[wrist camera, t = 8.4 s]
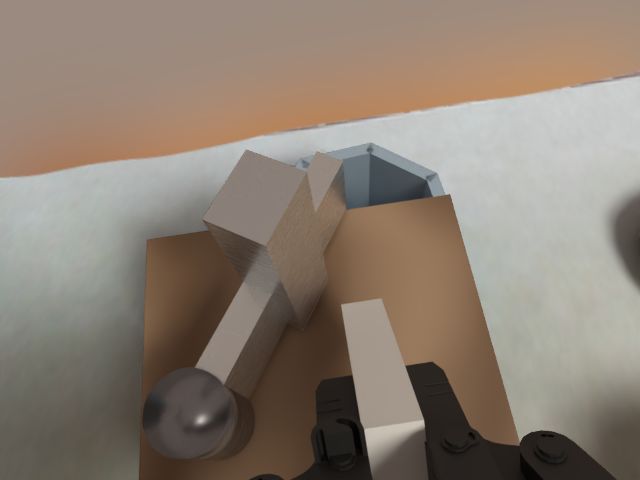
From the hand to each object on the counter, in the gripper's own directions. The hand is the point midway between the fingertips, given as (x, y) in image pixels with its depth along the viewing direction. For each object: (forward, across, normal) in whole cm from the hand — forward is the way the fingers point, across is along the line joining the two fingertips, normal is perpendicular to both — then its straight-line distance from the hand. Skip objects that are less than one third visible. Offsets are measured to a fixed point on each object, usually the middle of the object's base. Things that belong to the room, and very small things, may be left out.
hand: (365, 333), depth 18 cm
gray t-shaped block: (+3, -4, 0) cm, 5 cm away
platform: (+9, -2, -9) cm, 13 cm away
